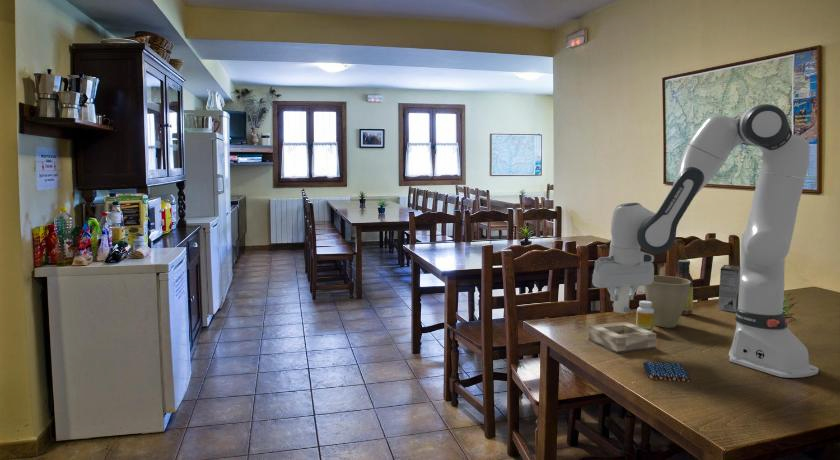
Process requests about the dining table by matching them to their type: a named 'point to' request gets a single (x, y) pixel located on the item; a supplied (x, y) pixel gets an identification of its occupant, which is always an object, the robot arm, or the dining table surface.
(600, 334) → the socket block
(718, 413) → the dining table surface
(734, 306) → the coffee box
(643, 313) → the supplement bottle
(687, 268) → the sauce bottle
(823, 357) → the dining table surface
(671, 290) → the plant pot
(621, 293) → the cylinder
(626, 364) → the dining table surface
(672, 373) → the woven mat
